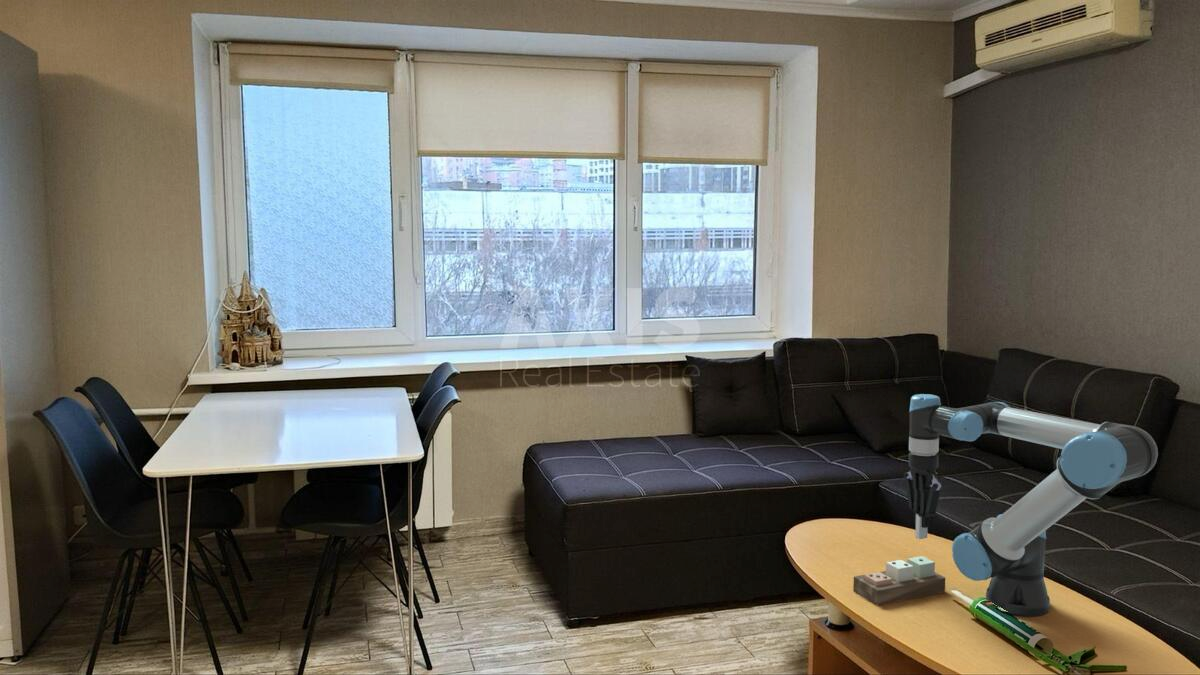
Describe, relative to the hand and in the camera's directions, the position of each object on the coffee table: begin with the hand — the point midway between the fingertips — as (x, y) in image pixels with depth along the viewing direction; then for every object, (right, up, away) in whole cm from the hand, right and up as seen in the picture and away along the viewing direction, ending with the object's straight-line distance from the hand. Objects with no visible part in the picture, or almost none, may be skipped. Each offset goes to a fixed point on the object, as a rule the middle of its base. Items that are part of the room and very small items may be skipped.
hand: (921, 537), depth 245 cm
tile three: (-13, -15, -3) cm, 20 cm away
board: (-6, -14, 0) cm, 16 cm away
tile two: (-6, -12, -1) cm, 13 cm away
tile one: (0, -11, +2) cm, 12 cm away
